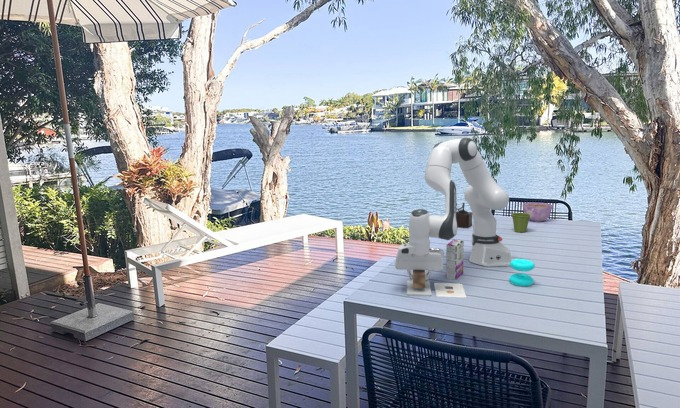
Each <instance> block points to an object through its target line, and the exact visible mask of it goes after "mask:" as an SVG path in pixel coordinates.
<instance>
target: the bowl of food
mask: <svg viewBox="0 0 680 408" xmlns="http://www.w3.org/2000/svg"><path fill="white" fill-rule="evenodd" d="M553 207H554V205H553V204H552V203H551V204H550V203H545V202H534V201H533V202H531V201H530V202H524V203H522V209H523V213H526V214H530V215H531V216H530V218H529V221H531V222H537V223H540V222H544V221H546V220H548V218H549V217H550V216H551V212H552V209H553Z"/></svg>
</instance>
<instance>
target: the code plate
mask: <svg viewBox="0 0 680 408" xmlns="http://www.w3.org/2000/svg"><path fill="white" fill-rule="evenodd" d="M433 284H434V290H435V296H436V297H440V298H467V295H466V291H465V288H464V286H463V283H453V282H451V283H449V282H434V283H433Z"/></svg>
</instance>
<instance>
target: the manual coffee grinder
mask: <svg viewBox="0 0 680 408" xmlns="http://www.w3.org/2000/svg"><path fill="white" fill-rule="evenodd" d="M457 206H458V203H457V202H456V218H457V228H459V229H460V228H461V229H469V228H471V227H472V226H473V215H472V211H471V212H470V211H467V210H466V209H465V206H466V205H465V202H462V206H461V207H459V208H457Z"/></svg>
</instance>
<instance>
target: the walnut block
mask: <svg viewBox="0 0 680 408" xmlns="http://www.w3.org/2000/svg"><path fill="white" fill-rule="evenodd" d="M412 274H413V279H412V281H413V288H425V281H426V280H425V275H426V270H412Z"/></svg>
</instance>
